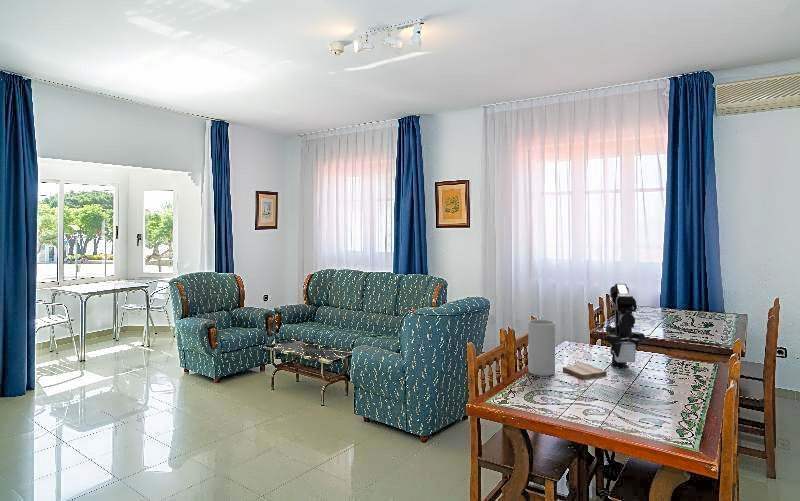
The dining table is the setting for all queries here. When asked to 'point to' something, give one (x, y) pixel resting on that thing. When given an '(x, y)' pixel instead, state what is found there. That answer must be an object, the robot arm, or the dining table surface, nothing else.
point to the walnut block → (584, 371)
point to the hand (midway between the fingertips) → (624, 355)
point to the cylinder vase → (541, 347)
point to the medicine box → (626, 352)
